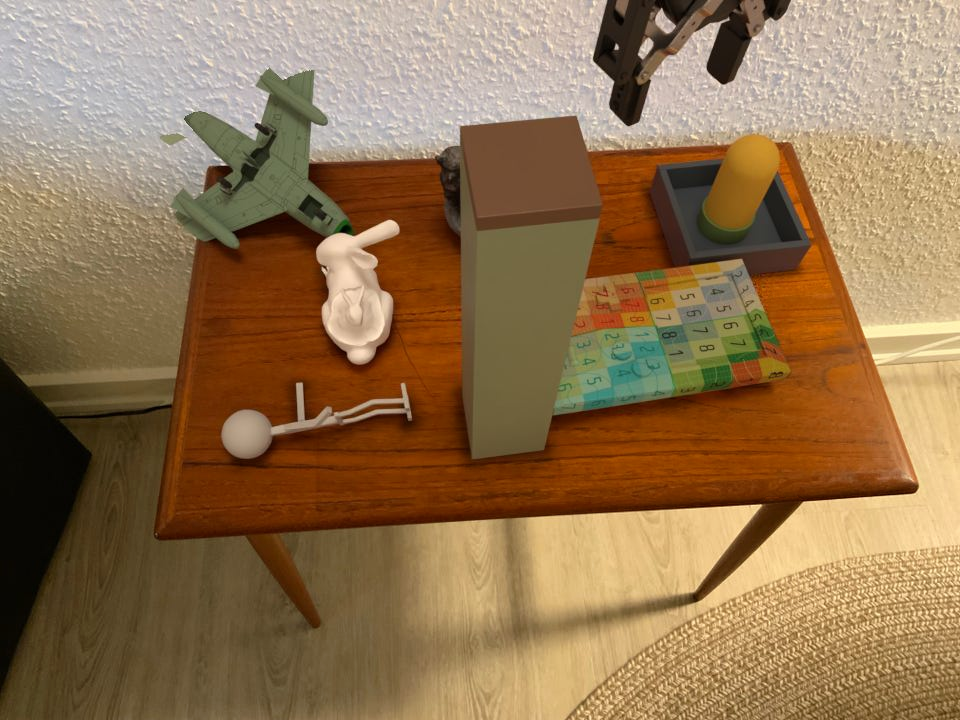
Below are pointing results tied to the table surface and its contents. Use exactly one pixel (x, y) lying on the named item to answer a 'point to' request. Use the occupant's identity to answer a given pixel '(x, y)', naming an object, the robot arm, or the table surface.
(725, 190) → the corn toy
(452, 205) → the cat statue
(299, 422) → the figurine
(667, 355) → the puzzle game
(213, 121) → the airplane
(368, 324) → the rabbit figurine
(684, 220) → the basket
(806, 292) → the table surface
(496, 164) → the plinth
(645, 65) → the robot arm
